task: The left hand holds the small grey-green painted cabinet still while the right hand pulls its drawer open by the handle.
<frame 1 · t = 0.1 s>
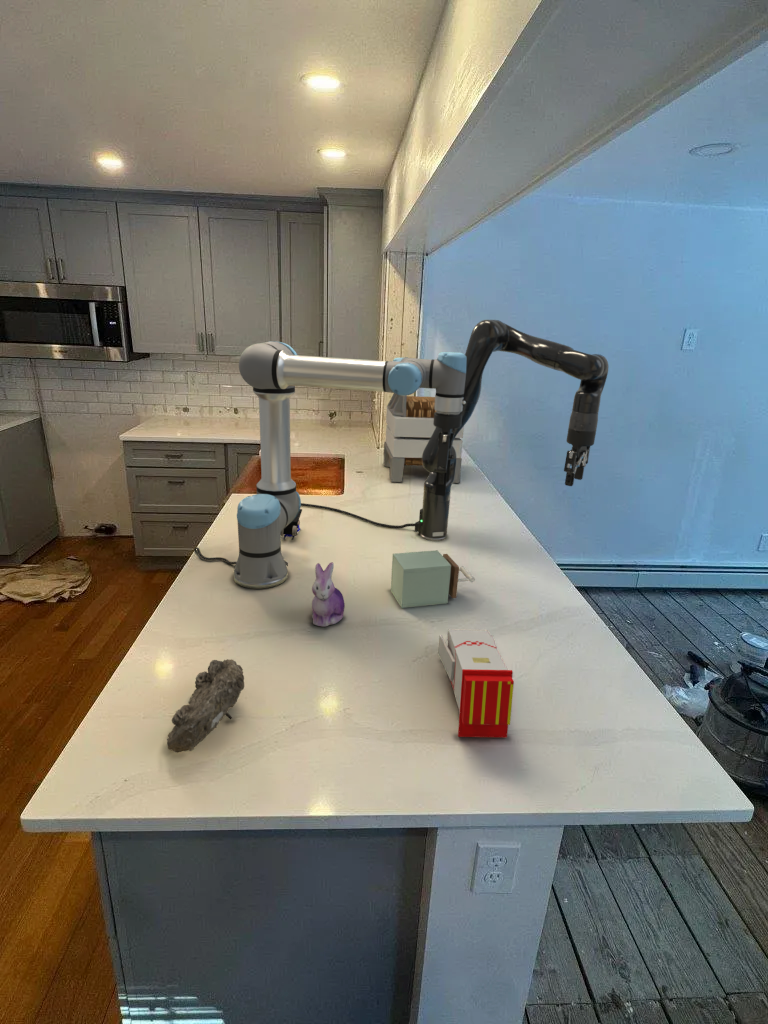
left hand: (442, 487, 159), 28 cm above the counter, tool pointing down, fingers open, 13 cm apart
right hand: (573, 482, 165), 29 cm above the counter, tool pointing down, fingers open, 8 cm apart
figurine character: (290, 535, 195), on the counter
fossil: (212, 717, 108), on the counter
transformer: (419, 473, 275), on the counter
drawer: (440, 576, 157), point 6 cm above the counter, slide at 1.5 cm
cabinet: (418, 596, 157), on the counter
toy: (469, 691, 119), on the counter
figurine: (327, 618, 144), on the counter
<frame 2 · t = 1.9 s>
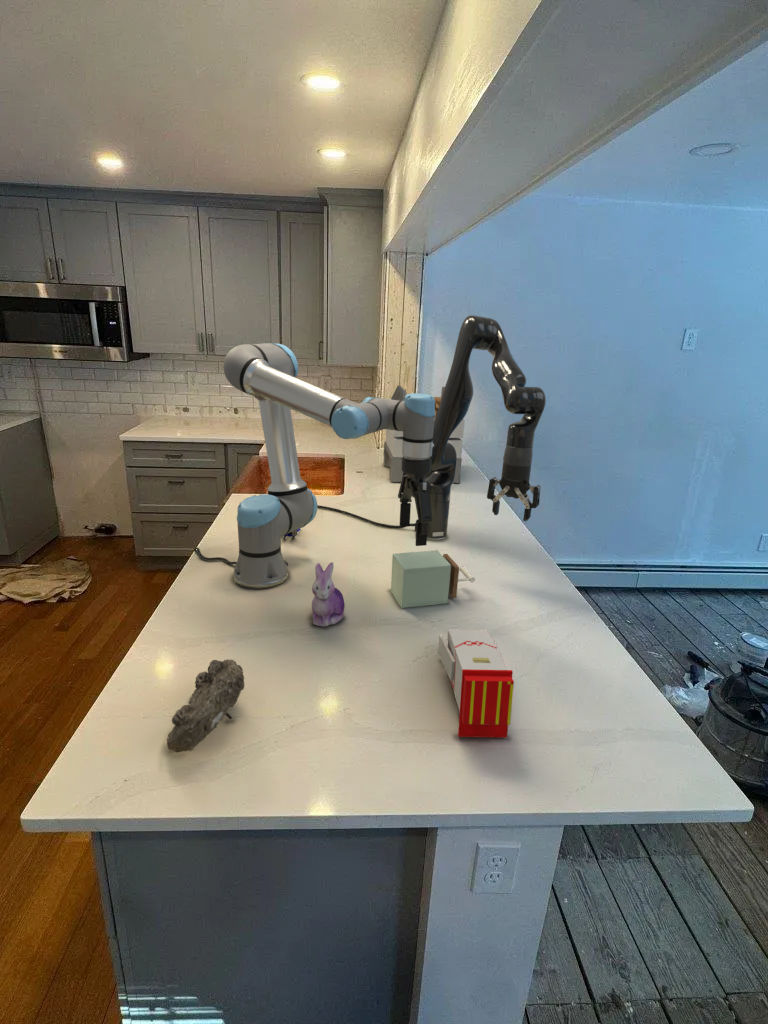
left hand: (412, 535, 150), 19 cm above the counter, tool pointing down, fingers open, 13 cm apart
right hand: (510, 517, 159), 21 cm above the counter, tool pointing down, fingers open, 8 cm apart
nothing on the counter moved.
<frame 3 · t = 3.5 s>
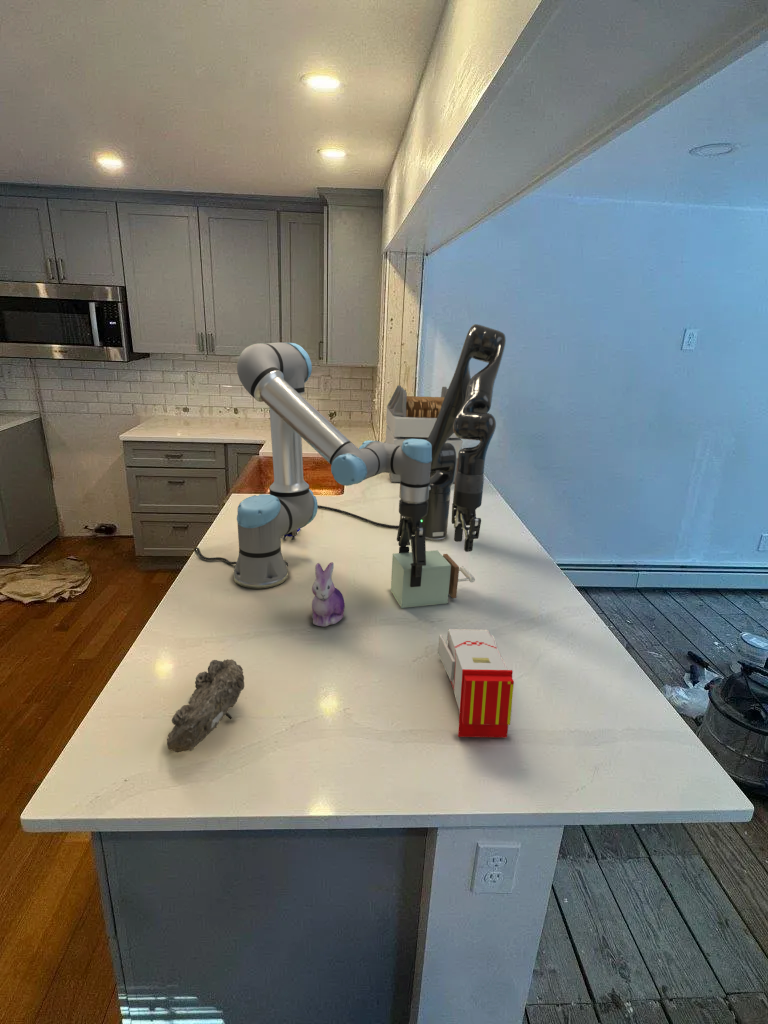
left hand: (409, 577, 154), 6 cm above the counter, tool pointing down, fingers closed on cabinet, 10 cm apart
right hand: (462, 545, 155), 14 cm above the counter, tool pointing down, fingers open, 6 cm apart
cabinet: (418, 596, 157), on the counter, touching left hand
everything else where it was.
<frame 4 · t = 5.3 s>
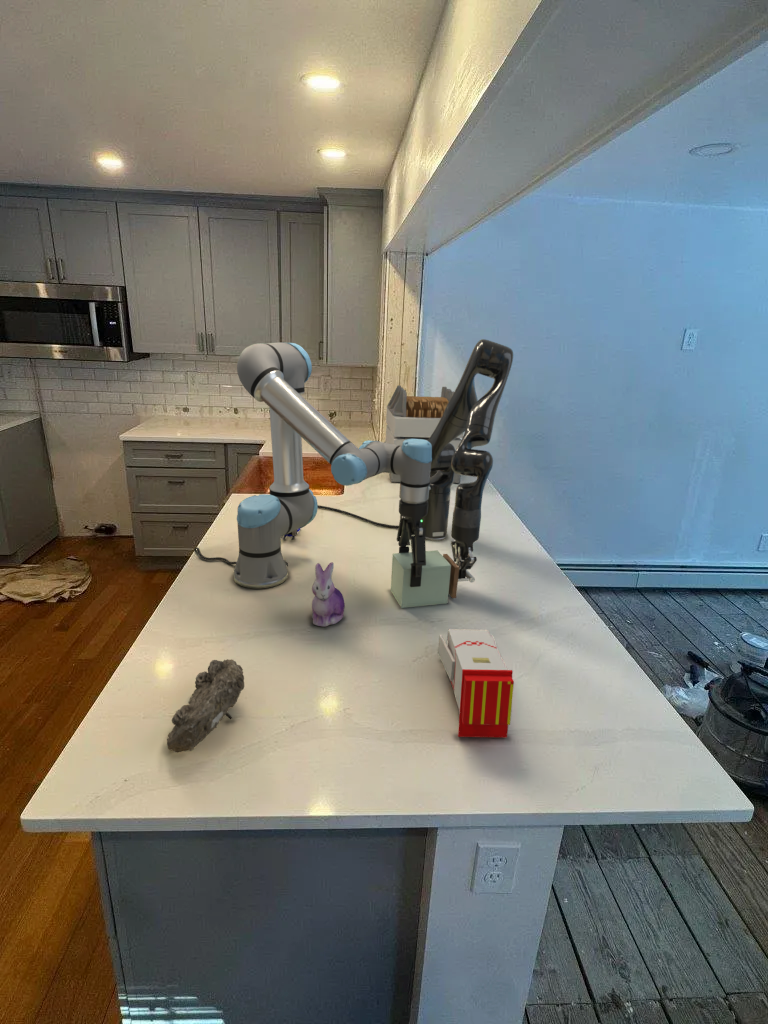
left hand: (408, 577, 154), 6 cm above the counter, tool pointing down, fingers closed on cabinet, 10 cm apart
right hand: (460, 579, 159), 4 cm above the counter, tool pointing down, fingers closed
drawer: (440, 576, 157), point 6 cm above the counter, slide at 1.5 cm, touching right hand
cabinet: (418, 596, 157), on the counter, touching left hand
everything else where it was.
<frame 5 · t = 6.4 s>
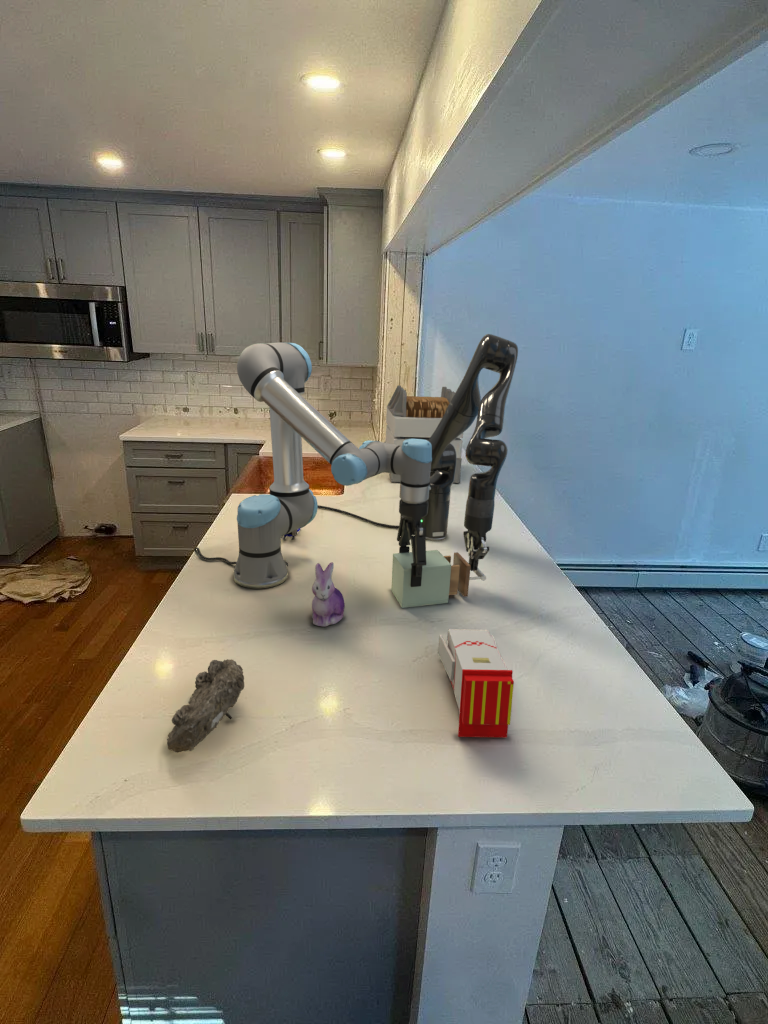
left hand: (409, 577, 154), 6 cm above the counter, tool pointing down, fingers closed on cabinet, 10 cm apart
right hand: (472, 569, 159), 7 cm above the counter, tool pointing down, fingers closed
drawer: (452, 575, 157), point 6 cm above the counter, slide at 4.7 cm
cabinet: (419, 596, 157), on the counter, touching left hand
everything else where it was.
when the left hand's fingers open (6 cm above the counter, at t = 7.8 s): cabinet stays where it is, on the counter.
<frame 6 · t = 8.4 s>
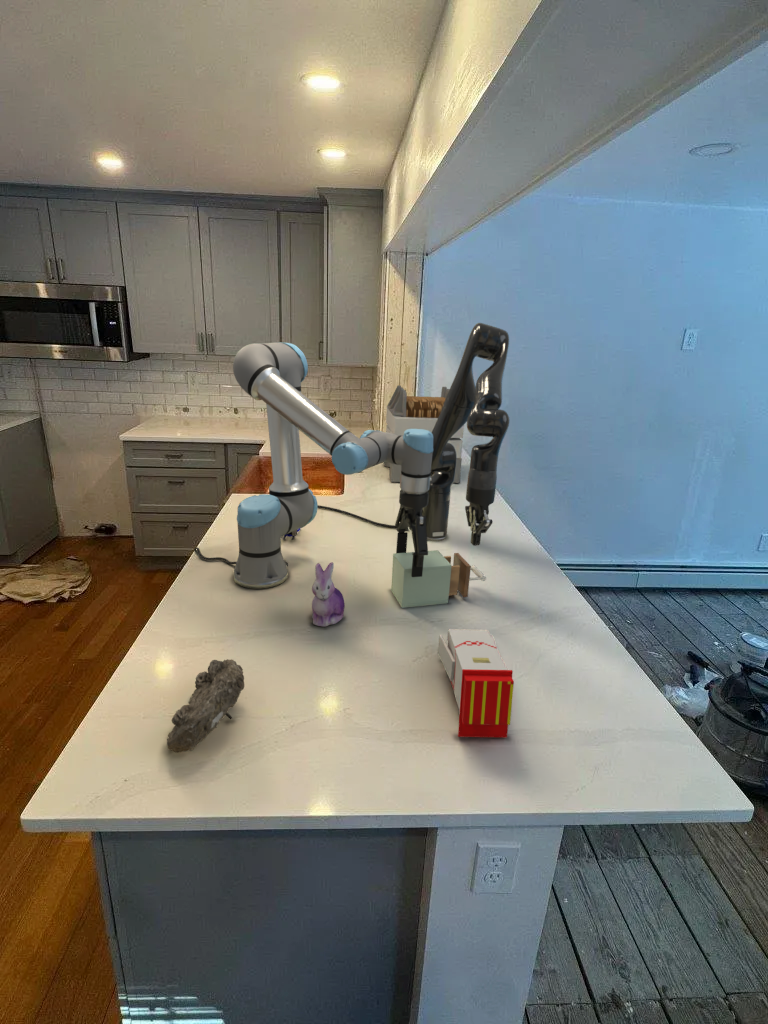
left hand: (408, 565, 153), 10 cm above the counter, tool pointing down, fingers open, 13 cm apart
right hand: (475, 544, 156), 15 cm above the counter, tool pointing down, fingers closed
cabinet: (419, 596, 157), on the counter
everything else where it was.
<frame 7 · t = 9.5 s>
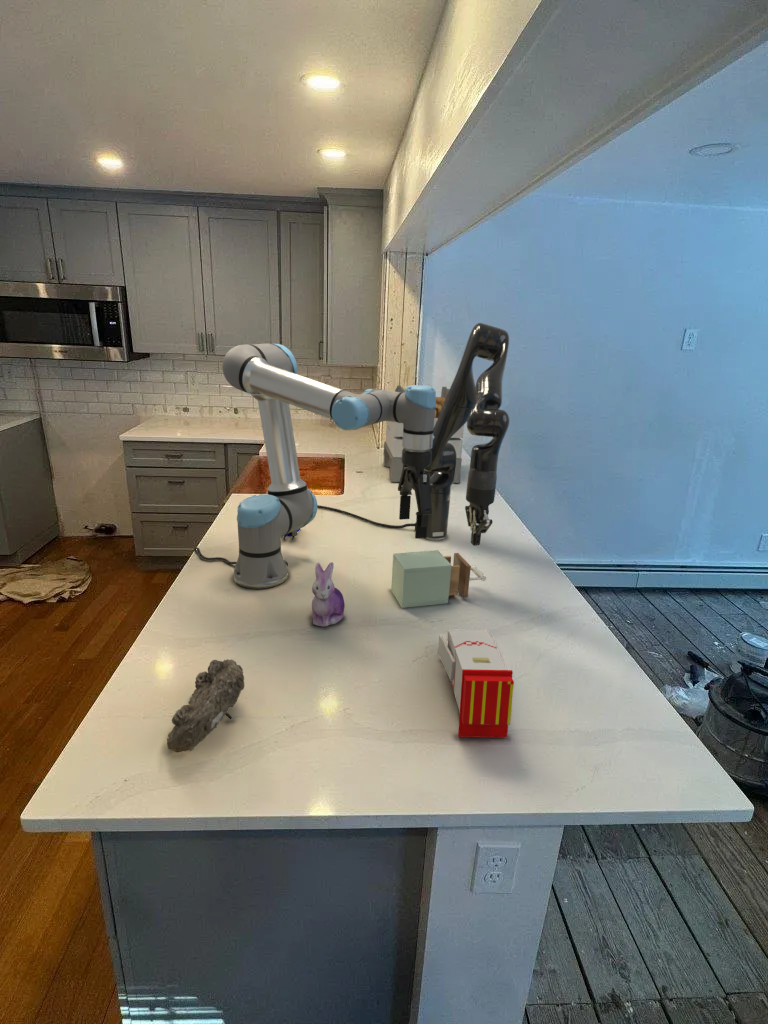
left hand: (412, 528, 149), 21 cm above the counter, tool pointing down, fingers open, 13 cm apart
right hand: (475, 544, 156), 15 cm above the counter, tool pointing down, fingers closed
nothing on the counter moved.
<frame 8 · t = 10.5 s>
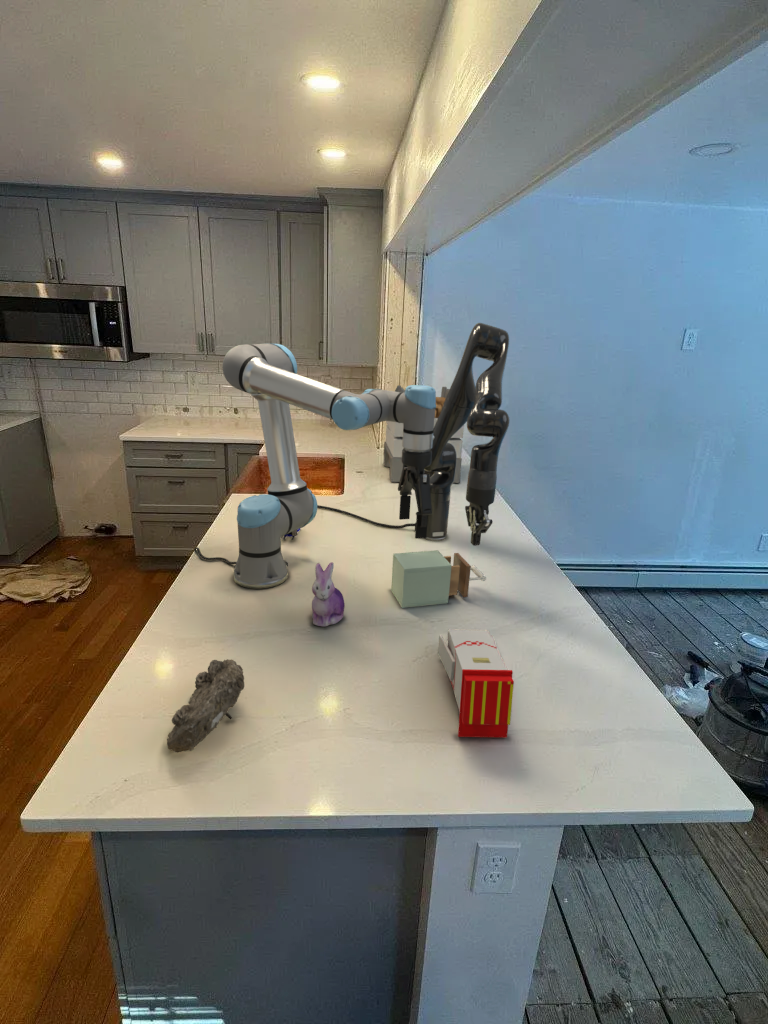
left hand: (412, 528, 149), 21 cm above the counter, tool pointing down, fingers open, 13 cm apart
right hand: (475, 544, 156), 15 cm above the counter, tool pointing down, fingers closed
nothing on the counter moved.
at the end: drawer slide at 4.7 cm; cabinet tilted 0°; cabinet never tilted more than 1° during the clip; cabinet moved 0.2 cm from its start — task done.
